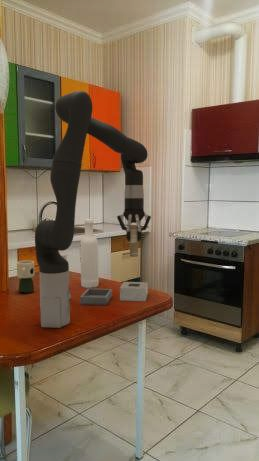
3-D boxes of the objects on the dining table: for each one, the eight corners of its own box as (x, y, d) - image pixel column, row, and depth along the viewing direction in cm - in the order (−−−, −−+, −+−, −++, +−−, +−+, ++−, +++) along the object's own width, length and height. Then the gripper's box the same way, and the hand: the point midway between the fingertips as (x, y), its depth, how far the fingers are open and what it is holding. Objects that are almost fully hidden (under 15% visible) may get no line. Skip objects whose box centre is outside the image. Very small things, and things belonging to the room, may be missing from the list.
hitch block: (145, 301, 144) (145, 288, 144) (120, 300, 145) (119, 287, 145) (147, 294, 154) (147, 282, 153) (123, 293, 155) (123, 281, 155)
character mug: (32, 295, 153) (32, 264, 151) (15, 295, 152) (14, 264, 151) (37, 288, 164) (36, 259, 162) (20, 289, 163) (19, 259, 162)
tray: (106, 305, 139) (106, 297, 139) (80, 304, 140) (80, 296, 140) (112, 296, 151) (112, 289, 150) (87, 295, 152) (87, 288, 152)
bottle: (78, 285, 169) (76, 219, 166) (93, 282, 174) (92, 218, 171) (86, 288, 163) (84, 220, 160) (101, 286, 167) (101, 219, 164)
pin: (139, 257, 145) (139, 226, 144) (127, 256, 146) (127, 226, 145) (140, 255, 150) (140, 225, 149) (129, 255, 150) (129, 225, 149)
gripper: (114, 197, 143) (114, 241, 144) (151, 197, 141) (151, 242, 143) (117, 196, 150) (117, 239, 152) (152, 196, 148) (152, 240, 150)
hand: (134, 240), depth 147 cm, fingers closed on pin, 3 cm apart
